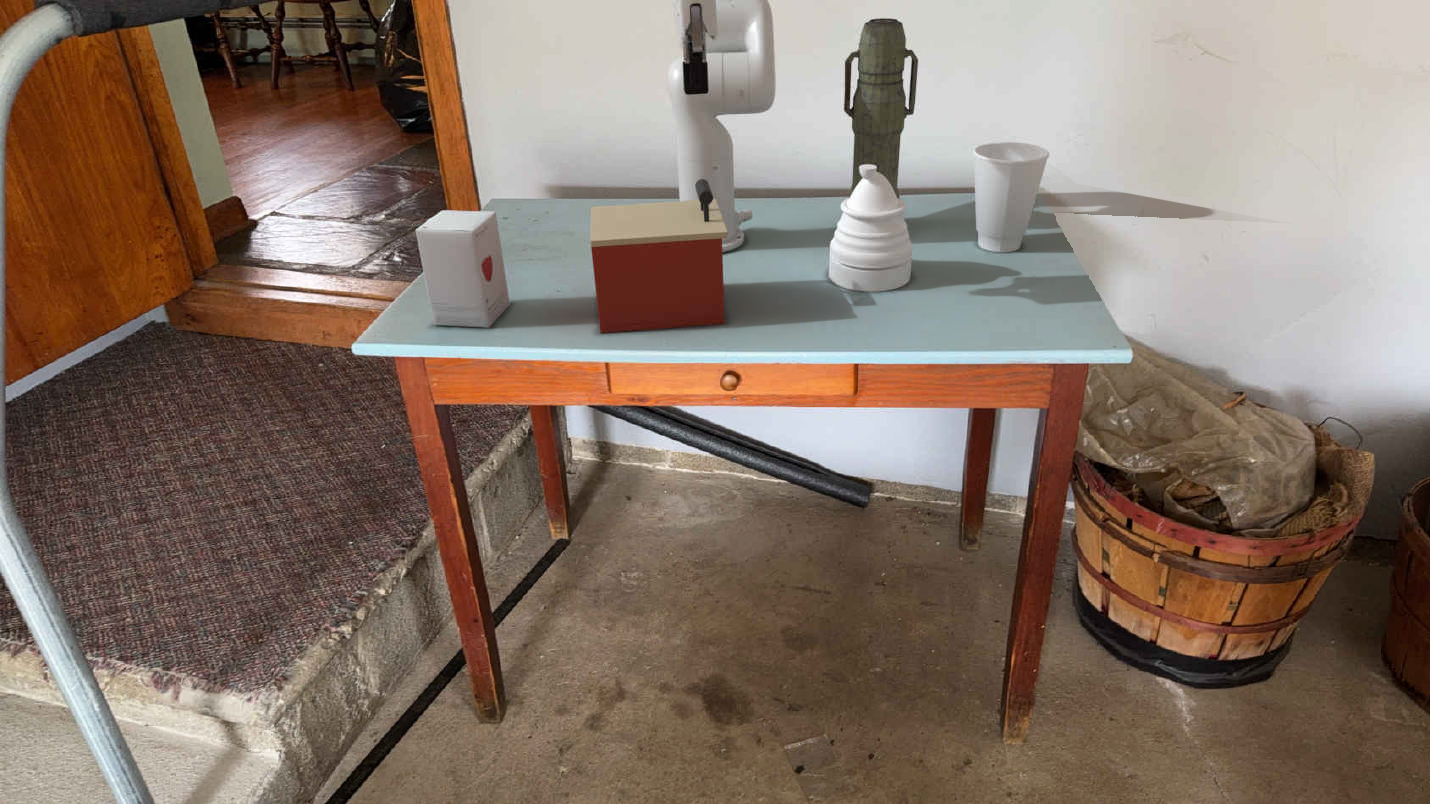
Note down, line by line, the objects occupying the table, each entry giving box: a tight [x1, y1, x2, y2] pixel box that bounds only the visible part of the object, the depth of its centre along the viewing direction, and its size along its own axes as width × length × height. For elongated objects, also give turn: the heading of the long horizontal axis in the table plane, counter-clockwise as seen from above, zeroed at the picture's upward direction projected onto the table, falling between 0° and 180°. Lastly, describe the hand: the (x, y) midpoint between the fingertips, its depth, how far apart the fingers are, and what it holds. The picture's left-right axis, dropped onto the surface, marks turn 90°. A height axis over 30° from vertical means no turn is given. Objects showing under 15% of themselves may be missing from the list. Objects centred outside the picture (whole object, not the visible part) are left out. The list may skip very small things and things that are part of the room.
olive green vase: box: [843, 17, 919, 200], centre depth 159 cm, size 9×12×35 cm
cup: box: [972, 141, 1050, 253], centre depth 154 cm, size 12×12×16 cm
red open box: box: [590, 238, 726, 334], centre depth 137 cm, size 18×15×13 cm
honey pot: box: [828, 164, 913, 293], centre depth 143 cm, size 13×13×18 cm
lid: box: [590, 179, 728, 248], centre depth 132 cm, size 19×15×5 cm
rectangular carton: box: [415, 209, 510, 329], centre depth 136 cm, size 9×9×15 cm
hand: (696, 92), depth 125 cm, fingers closed
